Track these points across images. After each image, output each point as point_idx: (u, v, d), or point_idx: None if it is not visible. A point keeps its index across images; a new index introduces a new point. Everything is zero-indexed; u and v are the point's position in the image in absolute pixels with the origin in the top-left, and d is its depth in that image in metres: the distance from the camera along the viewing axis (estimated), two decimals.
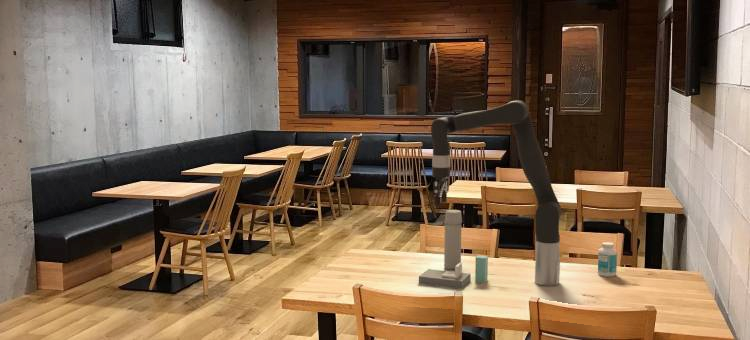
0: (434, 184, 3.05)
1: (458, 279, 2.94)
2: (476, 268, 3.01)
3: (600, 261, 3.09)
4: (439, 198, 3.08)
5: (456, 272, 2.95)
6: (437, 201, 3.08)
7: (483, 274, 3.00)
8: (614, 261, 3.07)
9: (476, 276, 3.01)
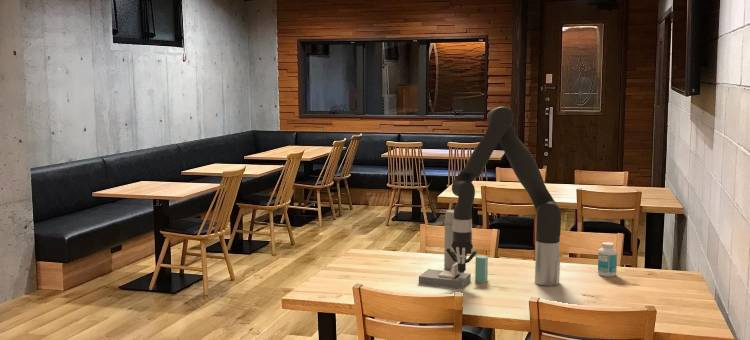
0: (475, 254, 2.93)
1: (458, 279, 2.94)
2: (476, 268, 3.01)
3: (600, 261, 3.09)
4: None
5: (453, 272, 2.95)
6: (465, 267, 2.96)
7: (483, 274, 3.00)
8: (614, 261, 3.07)
9: (476, 276, 3.01)
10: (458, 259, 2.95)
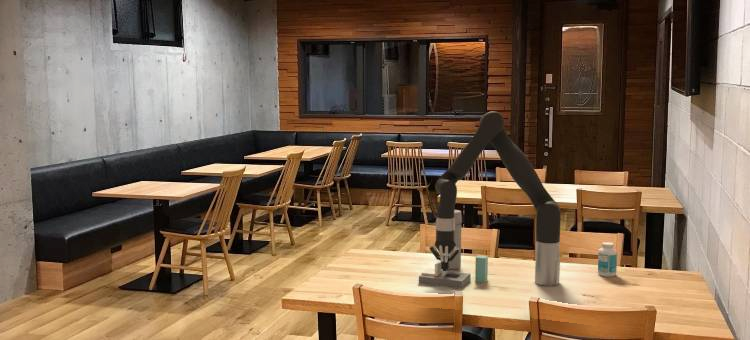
0: None
1: (458, 279, 2.94)
2: (476, 268, 3.01)
3: (600, 261, 3.09)
4: None
5: (436, 270, 2.98)
6: (448, 266, 2.99)
7: (483, 274, 3.00)
8: (614, 261, 3.07)
9: (476, 276, 3.01)
10: (441, 258, 2.98)
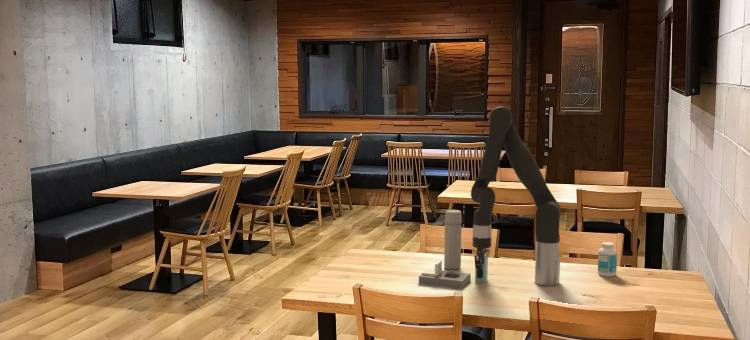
0: None
1: (458, 279, 2.94)
2: None
3: (600, 261, 3.09)
4: None
5: (436, 270, 2.98)
6: None
7: (483, 274, 3.00)
8: (614, 261, 3.07)
9: (476, 276, 3.01)
10: (482, 265, 2.99)
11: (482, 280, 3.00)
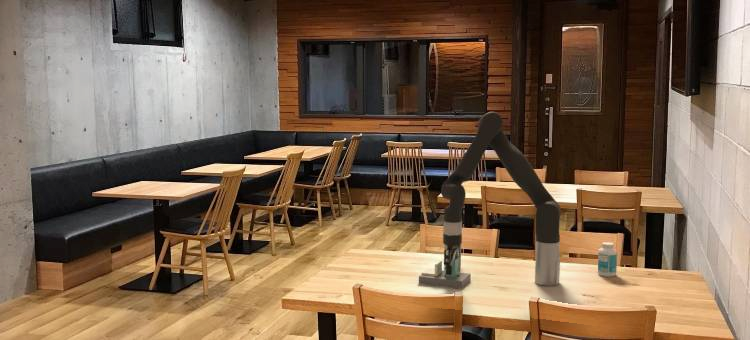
0: None
1: (458, 279, 2.94)
2: None
3: (600, 261, 3.09)
4: None
5: (436, 270, 2.98)
6: None
7: (453, 276, 2.97)
8: (614, 261, 3.07)
9: None
10: (451, 262, 2.94)
11: None
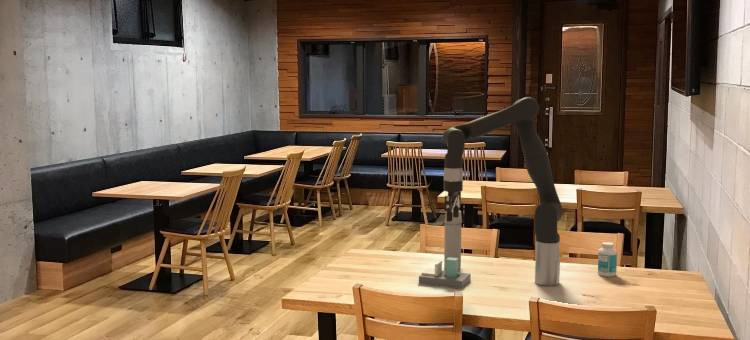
0: None
1: (458, 279, 2.94)
2: (446, 270, 2.98)
3: (600, 261, 3.09)
4: None
5: (436, 270, 2.98)
6: None
7: (453, 276, 2.97)
8: (614, 261, 3.07)
9: None
10: (452, 208, 2.91)
11: None
